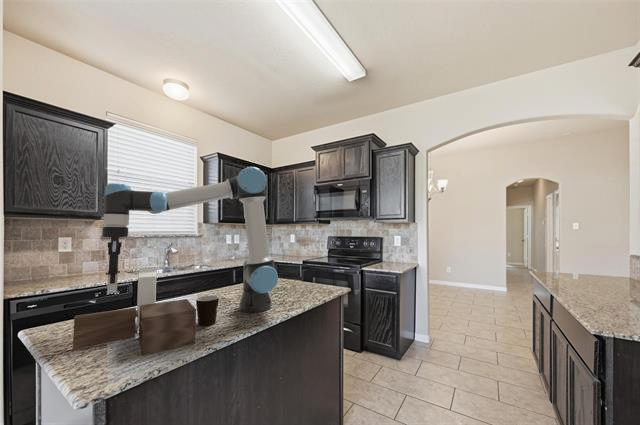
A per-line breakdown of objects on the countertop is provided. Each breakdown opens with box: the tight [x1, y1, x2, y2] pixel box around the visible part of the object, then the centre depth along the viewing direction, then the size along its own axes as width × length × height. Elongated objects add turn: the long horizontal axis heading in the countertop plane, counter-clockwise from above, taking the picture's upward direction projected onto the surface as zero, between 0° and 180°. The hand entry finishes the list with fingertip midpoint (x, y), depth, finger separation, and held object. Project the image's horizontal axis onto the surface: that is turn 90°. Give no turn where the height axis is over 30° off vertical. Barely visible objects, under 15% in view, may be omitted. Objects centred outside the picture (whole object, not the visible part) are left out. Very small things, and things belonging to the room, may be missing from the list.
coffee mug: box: [195, 295, 220, 327], centre depth 110 cm, size 12×9×10 cm
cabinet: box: [138, 298, 197, 356], centre depth 92 cm, size 15×17×11 cm
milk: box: [136, 267, 157, 327], centre depth 110 cm, size 6×6×22 cm
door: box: [72, 306, 139, 351], centre depth 90 cm, size 2×17×10 cm, turn 126°
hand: (112, 292), depth 97 cm, fingers closed
